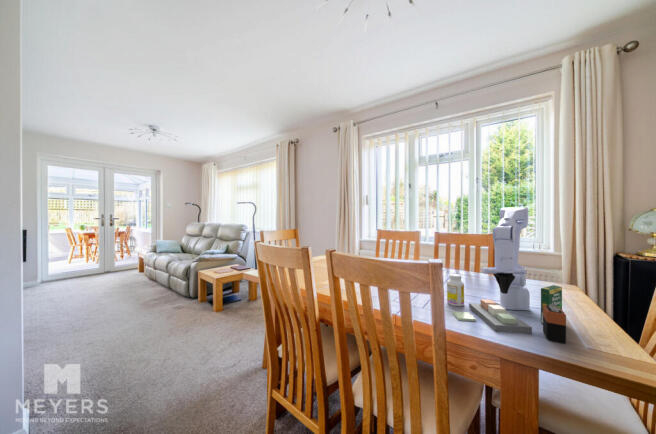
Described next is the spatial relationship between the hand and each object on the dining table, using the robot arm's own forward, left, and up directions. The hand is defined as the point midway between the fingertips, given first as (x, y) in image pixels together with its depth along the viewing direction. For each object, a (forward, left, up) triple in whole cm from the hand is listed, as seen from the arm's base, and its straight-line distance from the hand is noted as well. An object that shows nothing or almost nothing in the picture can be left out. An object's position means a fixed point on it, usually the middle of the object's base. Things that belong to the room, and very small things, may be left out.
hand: (503, 292), depth 90 cm
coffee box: (-14, +3, -10) cm, 17 cm away
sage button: (+4, +8, -9) cm, 12 cm away
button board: (+4, +2, -9) cm, 10 cm away
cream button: (+3, +2, -8) cm, 9 cm away
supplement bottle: (+13, -12, -10) cm, 20 cm away
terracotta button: (+3, -4, -8) cm, 9 cm away
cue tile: (+15, +2, -9) cm, 18 cm away
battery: (-7, +14, -10) cm, 18 cm away
